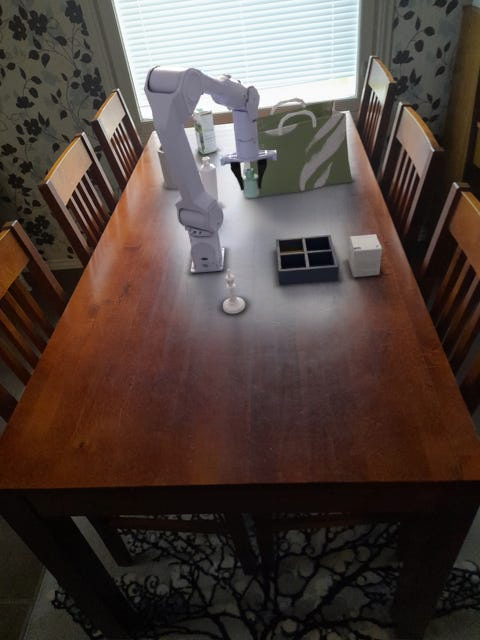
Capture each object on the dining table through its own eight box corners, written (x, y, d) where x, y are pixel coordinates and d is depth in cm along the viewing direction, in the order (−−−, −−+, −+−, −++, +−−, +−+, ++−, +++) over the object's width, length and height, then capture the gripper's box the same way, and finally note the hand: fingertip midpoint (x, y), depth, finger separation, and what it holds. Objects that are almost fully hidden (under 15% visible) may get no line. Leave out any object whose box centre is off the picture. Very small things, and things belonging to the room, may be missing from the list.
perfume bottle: (219, 211, 133) (212, 161, 123) (205, 211, 134) (196, 162, 124) (223, 203, 136) (216, 154, 126) (209, 203, 137) (201, 155, 127)
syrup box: (197, 150, 169) (190, 109, 159) (212, 145, 171) (206, 105, 161) (203, 155, 165) (196, 113, 155) (218, 150, 166) (212, 109, 157)
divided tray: (337, 280, 103) (338, 266, 100) (279, 285, 104) (278, 271, 102) (330, 248, 113) (330, 234, 110) (276, 252, 114) (275, 239, 111)
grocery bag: (248, 200, 136) (240, 120, 120) (242, 180, 146) (233, 104, 131) (352, 182, 137) (358, 101, 122) (338, 164, 147) (341, 87, 132)
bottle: (259, 197, 122) (257, 172, 117) (243, 198, 122) (241, 173, 118) (259, 189, 125) (257, 165, 120) (244, 191, 125) (241, 167, 121)
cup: (184, 174, 155) (177, 138, 146) (197, 182, 148) (190, 146, 140) (160, 182, 151) (152, 147, 143) (172, 191, 145) (164, 155, 137)
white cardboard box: (373, 260, 107) (376, 233, 102) (379, 275, 103) (382, 248, 98) (347, 262, 108) (349, 235, 103) (352, 277, 103) (354, 250, 98)
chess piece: (244, 298, 102) (239, 261, 95) (245, 312, 98) (240, 275, 92) (222, 300, 102) (216, 264, 96) (223, 314, 99) (216, 278, 92)
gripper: (274, 128, 116) (277, 178, 125) (218, 134, 117) (225, 183, 126) (275, 138, 111) (278, 190, 120) (217, 144, 112) (224, 195, 121)
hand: (251, 187), depth 122 cm, fingers closed on bottle, 4 cm apart
